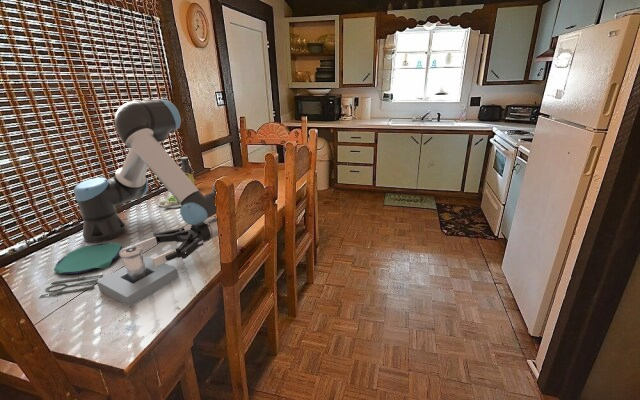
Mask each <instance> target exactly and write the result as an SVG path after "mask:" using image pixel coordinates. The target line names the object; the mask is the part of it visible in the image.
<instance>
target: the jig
mask: <svg viewBox="0 0 640 400" xmlns="http://www.w3.org/2000/svg"><path fill="white" fill-rule="evenodd" d="M152 258H153V257H150V256H147V255H145V256H143V259H144V263H145V266H146V270H147V274H148V276H146V277H144V278H143V279H141V280H139V281H137V282H136V283H134V284H133V283H131V282H130V280H129V276H128V273H127V269H126V266H124V267H122V268H120V269H118V270H116V271H114V272H112V273H110V274H107V275H105V276H103V277H101V278H100V279H98V281H97V282H96V284H97V287H98V290H99V291H100V292H101V293H104V294H105V295H108V297H110V298H112V299H115V301H118V302H120V303H121V304H123V305H125V306H127V307H129V308H132V307H133V306H135V305H136V304H138V303H140V302H141V301H142V300H145V299H146V298H147V297H149V296H150V295H151V296H152V295H153V294H154V293H155V292H157V291H159V290H160V289H162V288H164V287H165V286H167V285H169V284H170V283H172V282H173V281H175V280H176V279H178V278H179V273H178V269H177V267H175V266H172V265H169V264H167V263H166V262H165V263H163V264H161V265H158V266H156V267H155V266H154V263H153V259H152Z"/></svg>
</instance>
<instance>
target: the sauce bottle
mask: <svg viewBox="0 0 640 400" xmlns="http://www.w3.org/2000/svg"><path fill="white" fill-rule="evenodd" d="M180 161H181V168H180V169H181V170H182V171H183V172H184V173H185V175H186V176H187V177H188V178H189V179H190V180H191V182H192V183H193V184H194V185H195V180H194V173H193V169H192V167H191V166H190V162H189V161H190V159H189V157H188V156H182V157H180Z"/></svg>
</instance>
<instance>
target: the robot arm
mask: <svg viewBox="0 0 640 400" xmlns="http://www.w3.org/2000/svg"><path fill="white" fill-rule="evenodd" d="M181 123H182V119H181V115H180V112H179V110H178V108H177V107H176V106H175V104H174V103H172V101H169V100H166V99H159V98H158V99H153V100H152V99H151V100H141V101H140V100H139V101H128V102H125V103H124V104H122V105H120V106H119V108H118V109H117V111H116V113H115V116H114V128H115V131H116V133H117V135H118V137H119V138H120V140H121V141H122V142H123V144H124V145H125V146H126V147H127V148H129V150H128V153H127V155H126V157H125V161H124V162H123V165H122V166H121V167H119V168H118V169H117V170H116V171H115V174H114V176H113V177H111V178H106V177H103V176H102V177H94V178H90V179H87V180H84V181H82V182H79V183H78V184H76V185H75V187H74V189H73V192H74V198H75V201H76V203H77V205H78V208H79V212H80V215H81V217H82V220H83V227H82V237H83V240H84V241H85V242H87V243H103V242H106V241H110V240H112V239H113V240H114V239H116V238H118V237H120V236H121V235H123V234H125V233H126V232H127V227H126V224H125V222H124V221H123V219H122V218H121V217H120V215H118V213H117V209H116V207H117V206H119V205H122V204H126V202H127V203H128V202H130V201H133V200H137V199H139V198H141V197H143V196H144V195H146V194H147V192H148V191H149V180H148V178H147V177H146V172H147V171H148V169H150V171H151V172H152V173H153V174H154V175H155V176H156V177H157V178H158V180H159V181H160V182H161V184H163V186H165V188H166V189H167V190H168V191H169V192H170V194H171V196H172V195H173V196H174V197H175V198H176V200H177V201H178V202H179V203H180V204H181V205H182V207H180V209H179V213H180V216H181V219H182V220H183V221H184V223H186V224H188V225H191V226H190V229H185V226H184V227H183V226H182V227H179V228H176V229H170V230H165V231H159V232H154V233H153V237H151V238H148V239H144V240H141V241H140V242H136V243H135V244H133V245H141V246H143V251H144V250H147V249H149V248H151V247H154V246H157V245H159V244H160V243H169V242H170V243H171V242H176V243H181V244H180V245H179V246H178V247H176V248H175V249H171V250H169V251H166V252H164V253H161V254H159V255H156V256H154V257H151V258H152V259H153V263H154V266H155V267H156V266H158V265H161V264H163V263H165V264H166V263H167V262H170V261H172V260H175V259H176V258H181V259H182V260H184V259H187V258H188V257H189V256H190V255H191V254H192V253H194V252H195V251H196V250H197V249H199V248H200V247H202V246H204V243H206V242H208V241H210V240H212V239H216V238H217V237H219V236H218V228H217V218H216V215H217V213H216V206H215V196H216V191H215V187H214V184H215V183H216V182H214V183H213V184H212V191H210V192H209V193H207V194H203V193H202V192H201V191H200V190H199V189H198V188H197V186H196V185H195V183H194V184H193V183H192V182H191V180H190V179H189V178H188V177H187V176H186V175H185V173H184V172H183V171H182V170H181V169H182V168H181V167H180V166H179V165H178V164H177V162H176V161H175V160H174V159H173V158H172V157H171V155H170V154H169V153H168V152H167V150H165V148H164V147H163V146H162V145H161V143H162V142H165V141H166V140H167V139H168V137H169V134H171V131H172V132H175V131H177V130H178V129H180V126H181Z"/></svg>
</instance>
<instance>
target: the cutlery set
mask: <svg viewBox="0 0 640 400" xmlns="http://www.w3.org/2000/svg"><path fill="white" fill-rule="evenodd" d="M122 246H123V244H120V243H118V242H99V243H96V244H92V245H84V246H82V247H79V248H76V249H74V250H72V251H69V252H68V253H67V254H66V255H65V256H63V257H61V259H59V260H58V261H57V262H56V264H55V265H54V269H53V270H54V272H55V273H57V274H59V275H72V274H73V275H75V274H81V273H87V272H91V271H93V270H97V269H102V270H105V269H106V268H109V267H110V265H111V263H112V262H113V261H114V260H115V259H117V258H118V257H120V254H119V252H120V250H122V249H123V247H122ZM97 277H98V278H97ZM99 277H101V278H104V275H103V273H101V274H98V275H92V276H91V275H90V276H81V277H80V276H78V277H77V278H68V279H63V280H55V281H53V282H51V285H50V286H48V287H46V288H45V289H44V291H47V292H49V293H45V294H41V296H39V297H38V299H43V298H44V297H45V295H48V294H49V296H53V297H57V296H56V295H58V296H59V295H62V294H69V293H70V294H71V293H77V292H82V291H86V290H93V289H95V285H90V286H84V287H81V288H75V289H71V290H70V289H69V290H63V289H65V288H68V287H69V288H70V287H73V286H74V287H75V286H80V285H85V284H91V283H97V281H98V280H99ZM89 278H90V279H91V278H96V279H91V280H90V279H89ZM85 279H89V280H85ZM84 280H85V281H84ZM74 281H75V283H72V284H69V285H68V284H66V282H67V283H68V282H74ZM76 281H78V282H77V283H76ZM79 281H81V282H79ZM60 286H61V288H58V289H55V290H52V289H53V288H56V287H60ZM51 290H52V292H50V291H51ZM43 296H44V297H43Z"/></svg>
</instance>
